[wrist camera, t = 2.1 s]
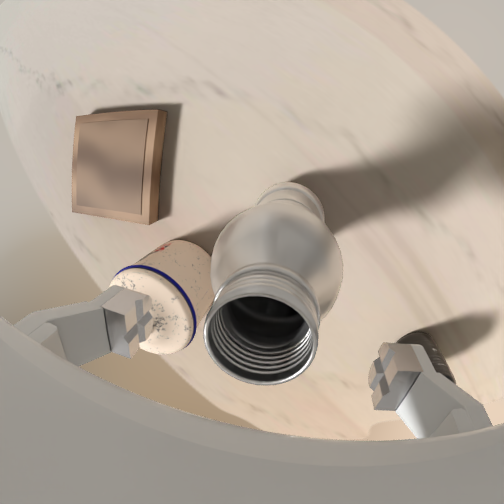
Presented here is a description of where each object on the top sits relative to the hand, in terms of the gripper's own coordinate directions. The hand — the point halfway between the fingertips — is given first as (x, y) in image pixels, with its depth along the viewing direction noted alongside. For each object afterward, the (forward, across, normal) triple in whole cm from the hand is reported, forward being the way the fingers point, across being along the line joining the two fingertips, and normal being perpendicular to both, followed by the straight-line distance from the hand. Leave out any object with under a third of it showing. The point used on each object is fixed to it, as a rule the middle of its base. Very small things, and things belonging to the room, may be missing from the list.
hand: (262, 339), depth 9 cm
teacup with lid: (+20, +11, +10) cm, 24 cm away
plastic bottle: (+19, 0, -1) cm, 19 cm away
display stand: (+19, +20, -4) cm, 28 cm away
